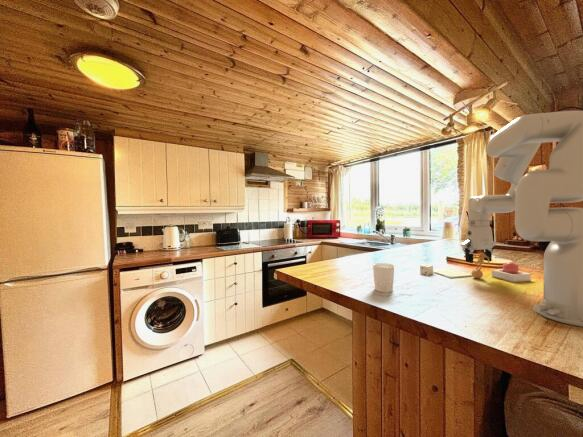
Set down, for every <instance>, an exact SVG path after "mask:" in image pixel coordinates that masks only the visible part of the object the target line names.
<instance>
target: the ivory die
mask: <svg viewBox="0 0 583 437" xmlns="http://www.w3.org/2000/svg"><path fill="white" fill-rule="evenodd" d="M433 270H434V266H433V265H430V264H420V265H419V273H420V274H422V275H426V276H429V275H432V274H434V273H433Z"/></svg>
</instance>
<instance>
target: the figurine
mask: <svg viewBox="0 0 583 437" xmlns="http://www.w3.org/2000/svg"><path fill="white" fill-rule="evenodd" d="M476 257H478V259H477V261H476V262H474V263H475V266H476V268H475V269H473V270H472V271H471V275H472V276H471V277H472V278H475V279H481V278H482V277H483V275H484V274H483V272H482V268H483V264H484V262H485V260H484V258H485V257H486V258H488V261H487V265H490V261H489V257H488V256H486V254H485V253H484V252H482V251H479V253H478V254H475V255H474V256H473V260H474V259H475V258H476Z"/></svg>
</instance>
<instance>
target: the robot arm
mask: <svg viewBox="0 0 583 437" xmlns="http://www.w3.org/2000/svg"><path fill="white" fill-rule="evenodd" d="M554 142H555V143H557V144H556V145H555V146H554V148H553V149H552V151H551V152H550V155H549V159H548V160H549V161H548V162H549V165H548V169H538V170H532V171H529V172H527V173H525V172H526V170H527V169H528V167H529V165H530V164H531V162H532V160H533V158H534V157H535V155H536V154H537V152H538V150H539V149H540V146H541V145H542V144H543V143H554ZM485 150H486V154H487V156H488V157H490V158H493V159H494V158H496V159H497V158H499V159H498V161H497V163H496V166H495V167H494V169H493V175H494V176H495V177H496V178H498V179H499V180H502V181H505V182H508V183H510V184H511V185H510V188H509V190H508V191H507V193H506V194H489V195H488V194H487V195H486V194H485V195H478V196H471V197H469V199H468V202H467V203H468V205H467V206H468V215H467V216H468V217H467V218H468V221H467V225H468V226H467V229H466V235H465V241H464V242H461V244H460V246H461V248H462V251H463V252H464V254H465V262H467V263H471V264H473V263H474V259H473V257H474V251H475V250H476V251H483V253H485V254H486V256H488V257H489V262H492V261H493V260H492V258H493V257H492V256H493V254H492V253H494V249H495V246H496V244H497V242H496V241H495V240H494V237H493V230H492V227H491V226H490V225H491V223H490V222H491V214H505V213H507V214H508V213H509V214H510V213H512V212H514V227H515V228H514V229H515V231H516V233H517V235H518V236H519V237H520V238H521V239H523V240H526V241H528V242H529V241H530V242H549V243H548V245H547V247H546V249H545V250H544V254H543V299H542V300H541V301H542V303H541V304H536V305H535V304H534V305H533V306H532V310H533V311H534V312H535V313H537V314H539V315H540V316H543V317H544V318H546V319H549V320H552V321H555V322H557V323H558V322H559V323H562V324H566V325H571V326H577V327H582V328H583V207H575V206H574V207H573V206H570V207H569V206H567V207H550V204H563V203H564V204H566V203H579V202H582V201H583V110H560V111H552V112H539V113H531V114H530V113H529V114H524V115H522V116H521V115H520V116H519V117H516V118H515V119H514V120H512V121H511V122H510V123H507V124H506V125H505V126H503V127H502V128H501V129H500V130H498V131H497V132H495V133H494V134H493V136H491V138H490V139H489V140H488V142H487V144H486V149H485ZM483 261H486V262H488V258H486V257H485V258H484V259H483Z"/></svg>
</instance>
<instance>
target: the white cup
mask: <svg viewBox="0 0 583 437" xmlns="http://www.w3.org/2000/svg"><path fill="white" fill-rule="evenodd" d="M372 269H373V270H372V271H373V272H372V273H373V283H374V289H375V291H377V292H379V293H387V294H388V293H392V292H393V290H394V281H395V280H394V276H395V274H394V272H395V265H393V264H391V263H383V262H380V263H379V262H377V263H373V264H372Z"/></svg>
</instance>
